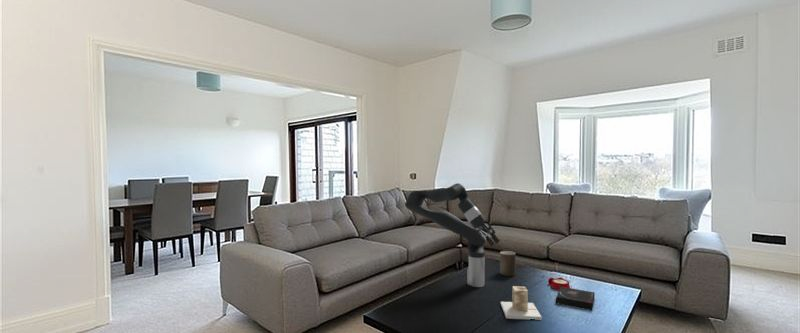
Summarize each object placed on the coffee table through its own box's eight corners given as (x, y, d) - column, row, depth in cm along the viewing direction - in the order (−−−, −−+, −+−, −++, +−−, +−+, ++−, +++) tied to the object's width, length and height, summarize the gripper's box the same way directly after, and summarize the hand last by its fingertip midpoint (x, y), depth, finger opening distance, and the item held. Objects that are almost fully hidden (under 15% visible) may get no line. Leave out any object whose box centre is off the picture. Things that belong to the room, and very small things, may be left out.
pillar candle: (516, 276, 229) (516, 253, 229) (500, 275, 231) (500, 252, 231) (514, 272, 239) (515, 249, 239) (499, 271, 241) (499, 248, 241)
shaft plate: (506, 318, 171) (506, 302, 171) (500, 304, 187) (500, 290, 187) (541, 320, 170) (541, 304, 169) (532, 305, 186) (533, 291, 185)
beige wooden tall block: (514, 311, 176) (515, 290, 176) (512, 305, 182) (512, 285, 182) (527, 311, 175) (527, 290, 175) (524, 306, 181) (524, 286, 181)
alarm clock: (556, 285, 204) (545, 271, 218) (555, 295, 206) (544, 280, 220) (574, 285, 204) (562, 271, 219) (573, 295, 206) (561, 280, 221)
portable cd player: (559, 293, 203) (559, 286, 203) (594, 299, 194) (594, 292, 194) (555, 304, 189) (555, 296, 189) (592, 311, 180) (592, 303, 180)
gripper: (466, 224, 191) (485, 250, 187) (472, 218, 178) (493, 246, 174) (477, 216, 193) (496, 241, 189) (484, 209, 180) (505, 237, 176)
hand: (495, 243), depth 181 cm, fingers open, 8 cm apart
